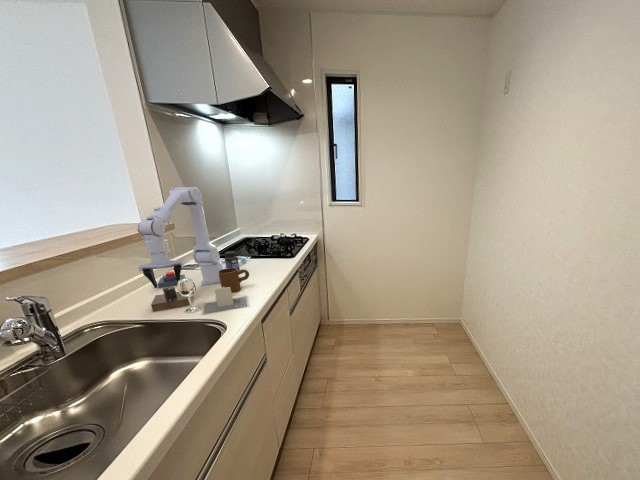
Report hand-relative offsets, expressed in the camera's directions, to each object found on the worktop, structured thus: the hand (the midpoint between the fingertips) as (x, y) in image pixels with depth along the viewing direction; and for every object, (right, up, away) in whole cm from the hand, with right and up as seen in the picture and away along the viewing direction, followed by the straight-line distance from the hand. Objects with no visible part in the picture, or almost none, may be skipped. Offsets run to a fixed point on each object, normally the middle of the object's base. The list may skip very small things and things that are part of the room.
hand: (167, 285), depth 123 cm
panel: (0, -7, +3) cm, 8 cm away
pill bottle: (+6, +7, +41) cm, 42 cm away
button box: (-16, +2, +27) cm, 31 cm away
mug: (+20, -2, +17) cm, 26 cm away
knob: (0, -4, +2) cm, 5 cm away
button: (-16, +5, +25) cm, 30 cm away
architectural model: (+22, -8, +1) cm, 24 cm away
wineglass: (+12, -10, -3) cm, 15 cm away
